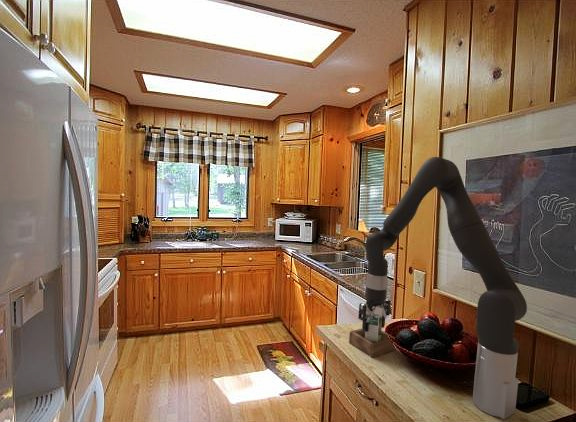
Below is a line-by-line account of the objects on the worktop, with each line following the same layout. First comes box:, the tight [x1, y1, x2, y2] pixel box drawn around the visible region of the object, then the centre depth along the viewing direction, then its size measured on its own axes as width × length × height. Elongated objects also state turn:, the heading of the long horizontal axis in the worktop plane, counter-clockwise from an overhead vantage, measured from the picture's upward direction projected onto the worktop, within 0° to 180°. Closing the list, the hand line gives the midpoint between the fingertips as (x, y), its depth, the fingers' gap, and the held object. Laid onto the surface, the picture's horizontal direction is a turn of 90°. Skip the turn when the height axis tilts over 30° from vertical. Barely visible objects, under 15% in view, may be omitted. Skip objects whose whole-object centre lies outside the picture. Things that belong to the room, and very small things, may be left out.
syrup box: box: [365, 304, 383, 343], centre depth 121 cm, size 6×6×14 cm
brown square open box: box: [348, 328, 397, 359], centre depth 122 cm, size 12×12×4 cm
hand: (373, 328), depth 122 cm, fingers closed on syrup box, 7 cm apart
